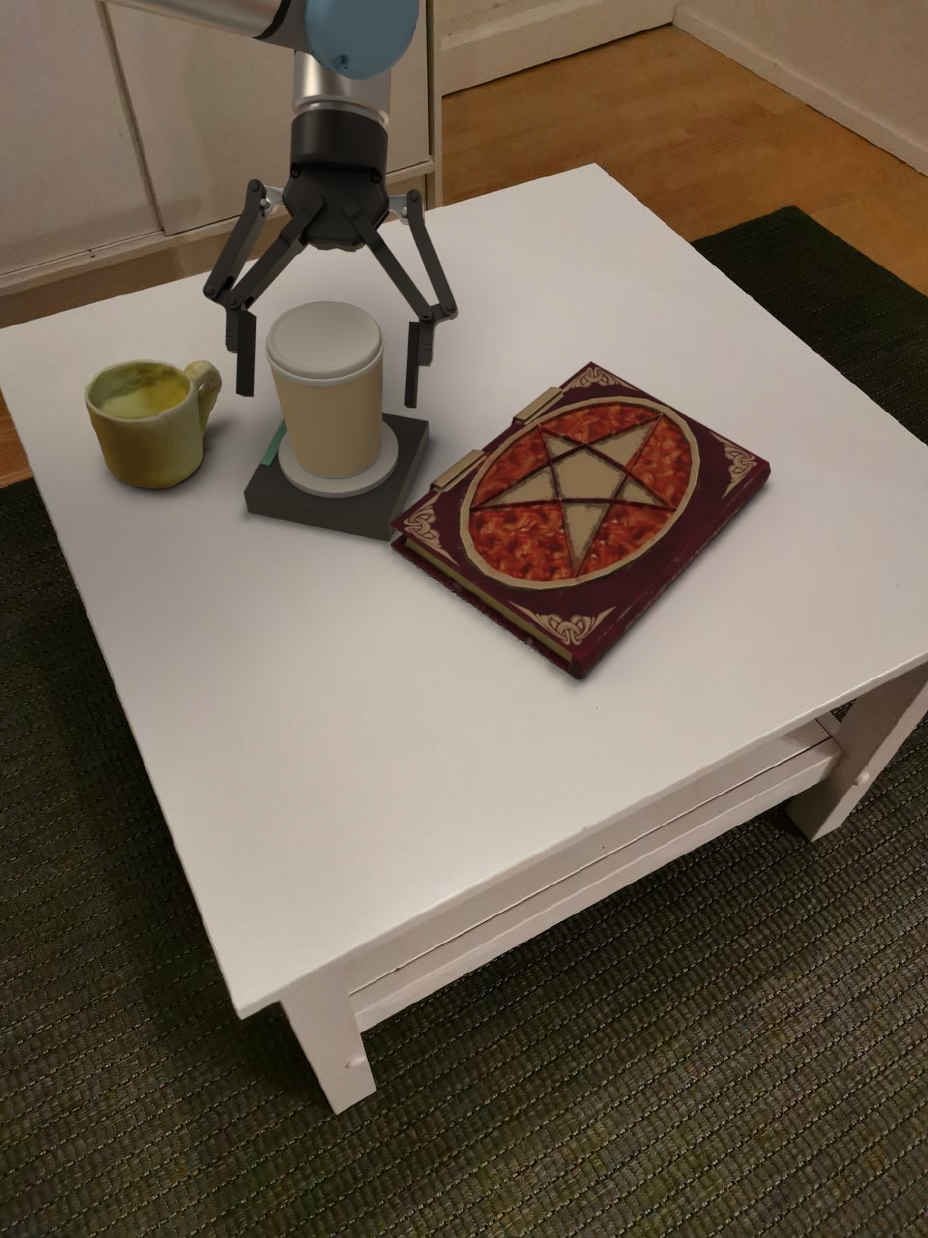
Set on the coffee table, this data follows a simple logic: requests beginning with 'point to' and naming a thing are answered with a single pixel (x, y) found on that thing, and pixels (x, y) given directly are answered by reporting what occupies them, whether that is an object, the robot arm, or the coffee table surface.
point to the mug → (152, 418)
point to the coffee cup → (329, 385)
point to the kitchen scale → (341, 483)
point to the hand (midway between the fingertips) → (327, 401)
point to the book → (579, 514)
